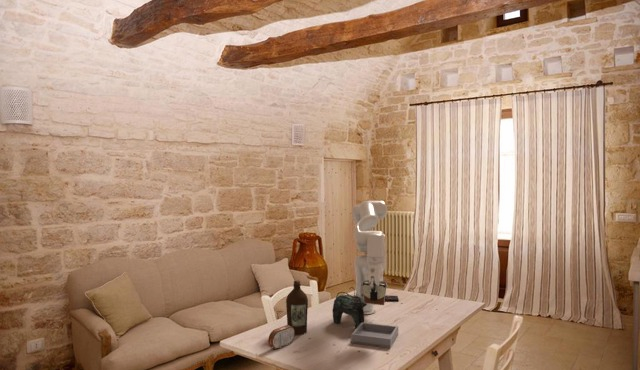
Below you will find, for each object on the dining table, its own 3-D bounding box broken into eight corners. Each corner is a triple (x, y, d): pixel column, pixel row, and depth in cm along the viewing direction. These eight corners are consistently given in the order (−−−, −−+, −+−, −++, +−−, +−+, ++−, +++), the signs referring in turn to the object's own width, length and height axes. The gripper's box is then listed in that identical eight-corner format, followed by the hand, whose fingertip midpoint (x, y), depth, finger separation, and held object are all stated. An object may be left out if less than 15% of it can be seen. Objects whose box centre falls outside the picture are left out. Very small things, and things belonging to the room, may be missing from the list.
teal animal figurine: (368, 329, 226) (368, 288, 226) (360, 332, 221) (360, 291, 221) (337, 320, 239) (337, 282, 239) (329, 323, 235) (329, 284, 234)
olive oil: (284, 329, 226) (284, 279, 225) (305, 327, 228) (305, 277, 228) (288, 336, 216) (287, 284, 215) (310, 334, 218) (309, 282, 217)
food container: (389, 302, 213) (390, 281, 213) (387, 305, 207) (387, 283, 207) (364, 299, 217) (364, 278, 217) (360, 302, 212) (361, 281, 211)
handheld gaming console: (398, 302, 274) (398, 285, 274) (378, 301, 275) (378, 285, 275) (397, 297, 284) (397, 281, 283) (377, 297, 285) (377, 281, 284)
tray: (351, 343, 207) (351, 334, 207) (361, 330, 224) (361, 322, 224) (390, 348, 201) (390, 339, 201) (398, 334, 217) (398, 326, 217)
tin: (291, 340, 211) (290, 322, 210) (296, 342, 209) (296, 323, 208) (267, 350, 199) (267, 331, 199) (272, 352, 197) (272, 332, 197)
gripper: (378, 263, 202) (378, 304, 203) (387, 257, 218) (387, 294, 219) (362, 262, 205) (362, 302, 205) (371, 256, 221) (371, 293, 221)
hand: (375, 298), depth 212 cm, fingers closed on food container, 5 cm apart
